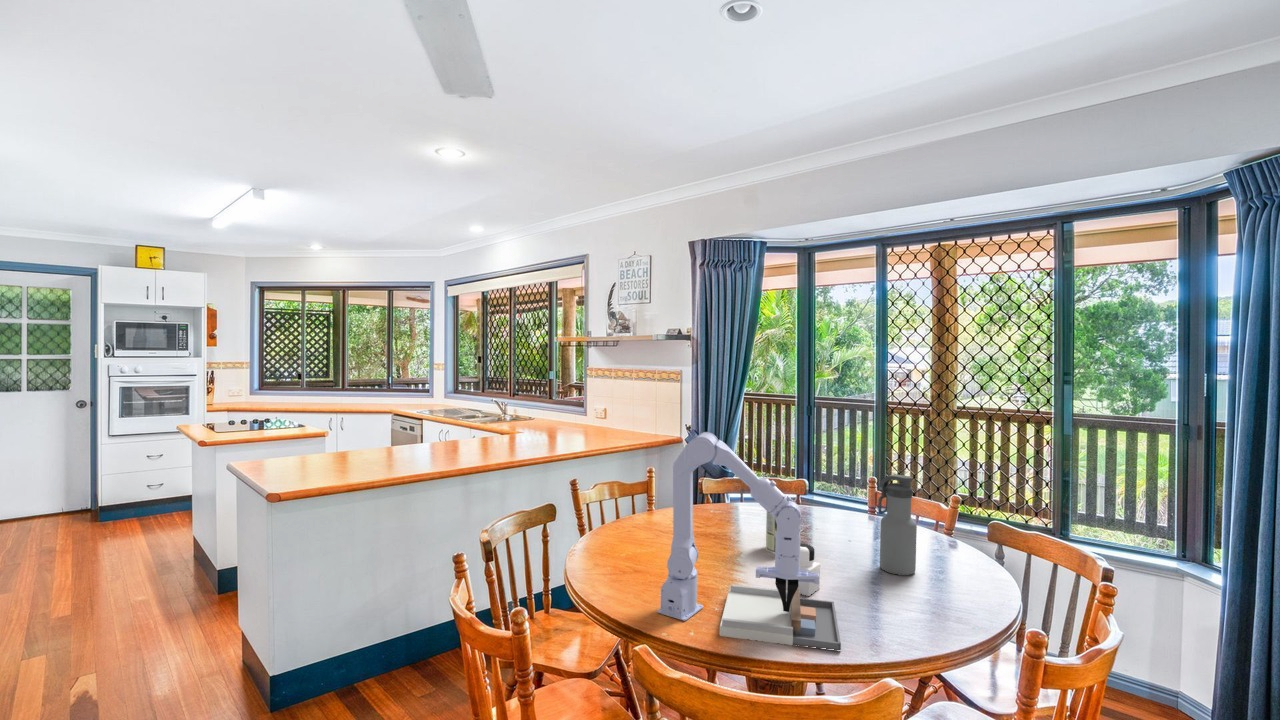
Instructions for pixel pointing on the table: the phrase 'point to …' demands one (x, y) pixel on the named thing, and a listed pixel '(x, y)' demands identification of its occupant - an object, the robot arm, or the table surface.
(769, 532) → the coffee can
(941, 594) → the table surface
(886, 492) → the water bottle
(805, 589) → the medicine bottle
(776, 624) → the white rimmed panel
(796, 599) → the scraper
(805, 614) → the tile
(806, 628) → the tile
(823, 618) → the box
